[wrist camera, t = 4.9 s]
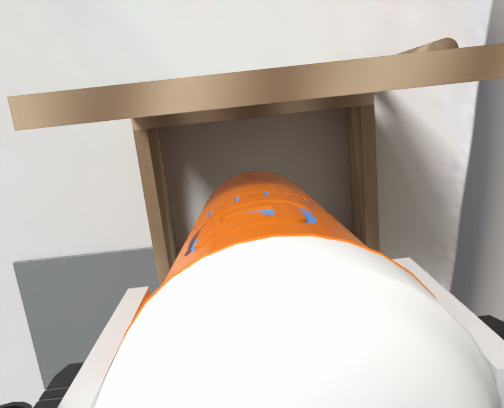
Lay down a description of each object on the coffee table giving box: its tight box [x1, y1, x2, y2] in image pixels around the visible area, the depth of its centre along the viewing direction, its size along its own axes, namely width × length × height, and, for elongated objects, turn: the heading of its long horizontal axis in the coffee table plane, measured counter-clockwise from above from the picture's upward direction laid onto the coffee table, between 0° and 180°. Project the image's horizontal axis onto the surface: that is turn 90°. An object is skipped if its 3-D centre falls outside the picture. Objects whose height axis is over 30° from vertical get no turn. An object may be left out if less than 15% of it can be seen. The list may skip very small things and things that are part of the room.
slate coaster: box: [13, 247, 159, 390], centre depth 39 cm, size 13×13×1 cm
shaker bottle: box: [94, 171, 501, 408], centre depth 16 cm, size 9×9×20 cm
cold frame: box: [7, 38, 504, 287], centre depth 26 cm, size 19×17×20 cm
